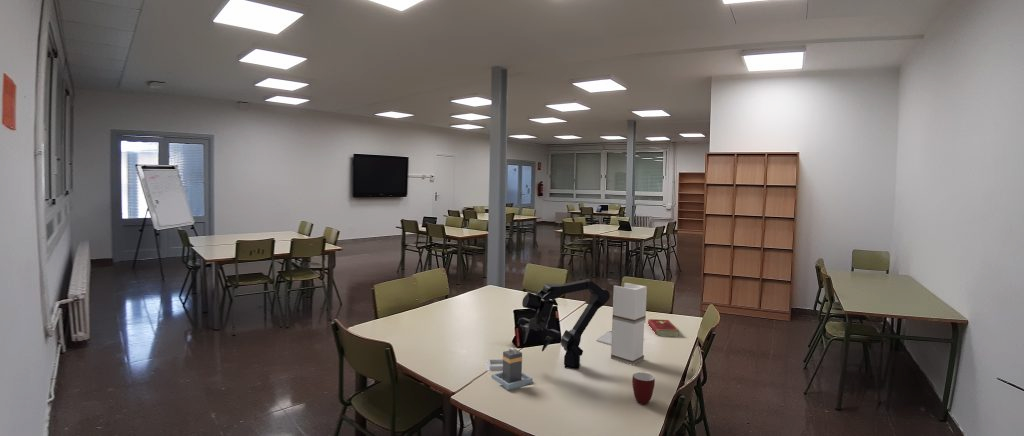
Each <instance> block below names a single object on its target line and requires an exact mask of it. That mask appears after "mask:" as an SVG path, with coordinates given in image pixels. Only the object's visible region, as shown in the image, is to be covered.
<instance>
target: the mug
mask: <svg viewBox="0 0 1024 436" xmlns="http://www.w3.org/2000/svg"><path fill="white" fill-rule="evenodd" d="M655 380H656V378H655V376H654V375H653V374H650V373H646V372H635V373H633V374H632V380H631V381H632V388H633V389H632V391H633V396H634V398H635V401H636V402H637V403H638V404H639V405H648V404H649V403H650V401H651V399H652V398H653V394H654V393H653V392H654V389H655Z"/></svg>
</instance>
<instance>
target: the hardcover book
mask: <svg viewBox="0 0 1024 436" xmlns="http://www.w3.org/2000/svg"><path fill="white" fill-rule="evenodd" d="M648 324H649V325H648ZM647 325H648V327H649V326H650V327H651V328H652V329H651V328H650V327H649V328H650V329H651V331H652V332H653V331H654V332H655V333H654V332H653V333H654V334H655V336H656V335H665V336H664V337H676V336H679V332H680V330H679V329H678V328H677V327H676V326H675V325H674V324H673V323H672V322H671V321H670V320H669V319H654V318H653V319H652V318H649V319H648V320H647Z"/></svg>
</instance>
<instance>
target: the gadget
mask: <svg viewBox="0 0 1024 436" xmlns="http://www.w3.org/2000/svg"><path fill="white" fill-rule="evenodd" d="M595 341H596V342H597V343H602V344H604V345H609V346H611V343H612V330H608V331H606V332H605V333H604V334H603V335H600V337H598V338H597V339H596V340H595Z"/></svg>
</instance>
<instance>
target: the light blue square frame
mask: <svg viewBox="0 0 1024 436" xmlns="http://www.w3.org/2000/svg"><path fill="white" fill-rule="evenodd" d="M502 378H503V371H500V372H495V373H493V374H491V379H492V380H494V381H496V382H497V383H498V384H499V386H500V387H502V388H503V389H505V390H506V391H508V392H509V391H512V390H516V389H517V390H518V389H521V388H525V387H528V386H530V385H532V384H531V383H533V377H532V376H530V375H528V374H526V373H524V372H522V377H521V378H522V379H521V380H520V381H517V382H513V383H507V382H506V381H504V380H502Z"/></svg>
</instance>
